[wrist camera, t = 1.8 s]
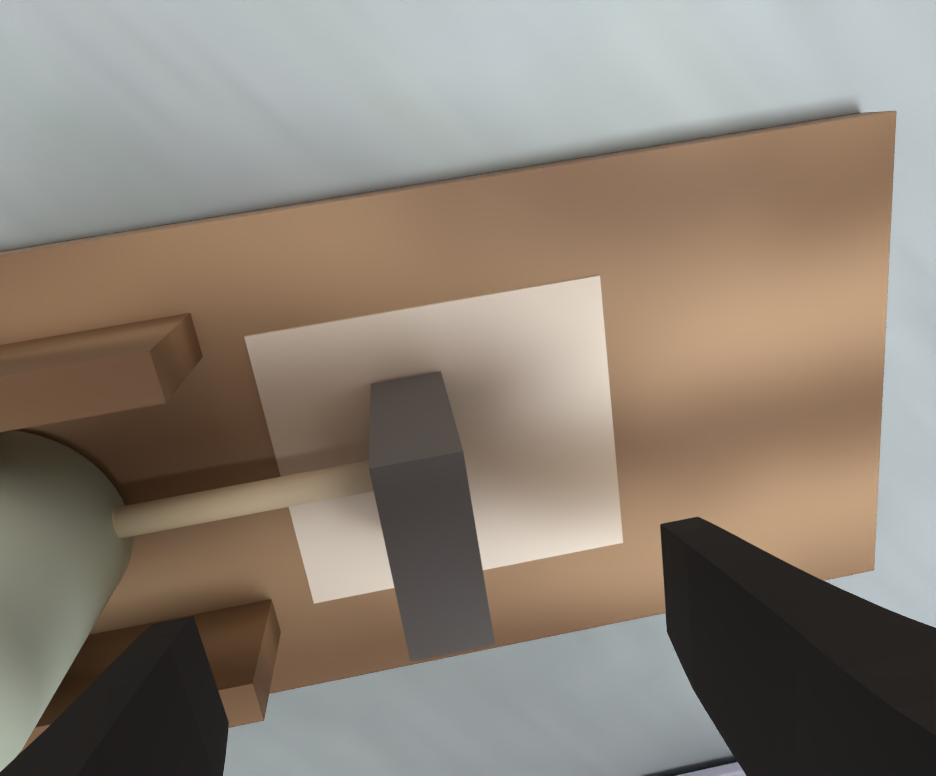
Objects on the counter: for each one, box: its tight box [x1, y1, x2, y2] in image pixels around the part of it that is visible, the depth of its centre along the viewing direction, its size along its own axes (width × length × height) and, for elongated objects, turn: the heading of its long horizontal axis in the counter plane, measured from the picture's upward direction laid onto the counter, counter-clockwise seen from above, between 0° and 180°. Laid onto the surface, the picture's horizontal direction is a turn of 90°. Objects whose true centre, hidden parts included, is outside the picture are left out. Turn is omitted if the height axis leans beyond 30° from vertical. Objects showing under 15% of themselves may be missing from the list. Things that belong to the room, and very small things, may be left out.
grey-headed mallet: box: [0, 371, 495, 772], centre depth 14 cm, size 5×13×5 cm, turn 99°
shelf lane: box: [0, 111, 896, 757], centre depth 16 cm, size 12×25×4 cm, turn 99°
